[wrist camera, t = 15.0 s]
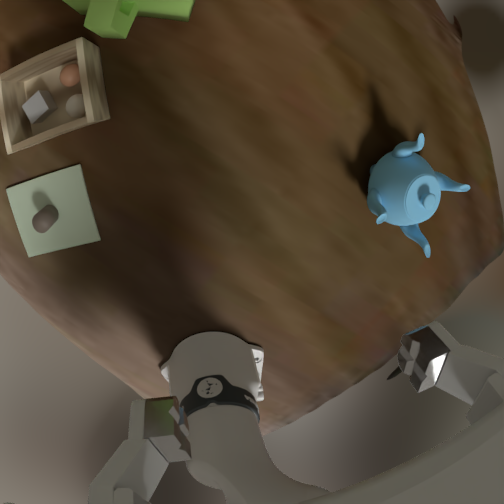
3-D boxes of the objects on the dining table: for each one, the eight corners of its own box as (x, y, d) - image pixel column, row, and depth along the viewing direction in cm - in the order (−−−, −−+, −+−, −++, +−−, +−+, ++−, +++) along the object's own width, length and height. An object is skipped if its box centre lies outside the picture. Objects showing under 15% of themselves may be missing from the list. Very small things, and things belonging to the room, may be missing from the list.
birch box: (110, 118, 34) (94, 121, 27) (32, 145, 32) (7, 154, 26) (99, 47, 29) (82, 36, 23) (21, 79, 28) (-5, 77, 22)
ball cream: (93, 113, 32) (86, 113, 29) (72, 120, 32) (64, 121, 29) (90, 91, 31) (82, 90, 28) (69, 98, 30) (60, 98, 28)
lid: (101, 237, 41) (94, 251, 37) (31, 254, 39) (19, 268, 35) (82, 162, 36) (70, 169, 32) (9, 187, 34) (-6, 196, 30)
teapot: (392, 232, 49) (428, 260, 40) (337, 195, 44) (372, 220, 35) (430, 170, 45) (472, 187, 36) (380, 123, 40) (424, 132, 31)
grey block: (58, 107, 31) (48, 108, 28) (41, 122, 31) (31, 124, 28) (48, 90, 29) (38, 90, 26) (32, 105, 29) (21, 106, 27)
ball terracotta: (87, 82, 30) (79, 81, 28) (66, 90, 30) (57, 89, 27) (84, 61, 29) (76, 58, 26) (63, 69, 28) (54, 67, 26)
